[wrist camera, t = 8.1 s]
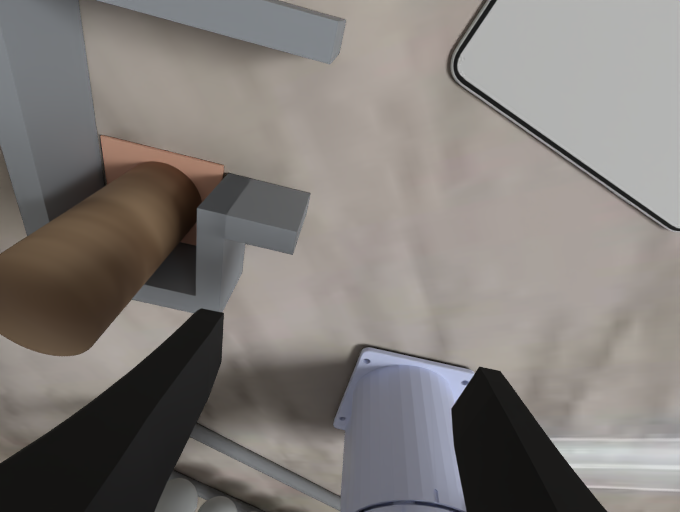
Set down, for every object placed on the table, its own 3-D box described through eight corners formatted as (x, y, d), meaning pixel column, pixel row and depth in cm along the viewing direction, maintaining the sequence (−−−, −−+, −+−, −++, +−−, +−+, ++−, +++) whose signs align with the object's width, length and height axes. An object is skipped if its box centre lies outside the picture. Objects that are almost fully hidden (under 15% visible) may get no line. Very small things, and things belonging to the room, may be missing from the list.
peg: (201, 238, 21) (103, 366, 13) (129, 221, 20) (-12, 342, 13) (202, 172, 18) (86, 281, 11) (122, 152, 18) (-54, 250, 11)
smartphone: (592, -157, 11) (860, 105, 15) (581, -149, 12) (842, 102, 15) (440, 72, 15) (680, 239, 18) (437, 70, 16) (671, 233, 19)
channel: (291, 283, 22) (277, 331, 19) (91, 237, 21) (40, 279, 18) (346, 19, 14) (338, 21, 11) (37, -69, 14) (-70, -95, 10)
